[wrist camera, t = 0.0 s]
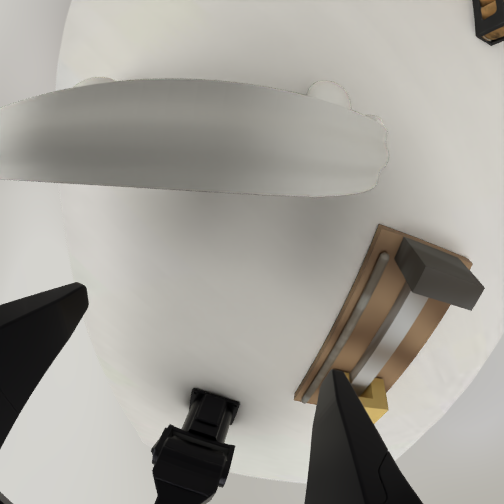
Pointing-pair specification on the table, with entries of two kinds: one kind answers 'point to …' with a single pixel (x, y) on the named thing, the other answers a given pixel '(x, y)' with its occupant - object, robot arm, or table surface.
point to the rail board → (377, 317)
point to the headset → (194, 138)
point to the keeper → (374, 399)
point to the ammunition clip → (489, 20)
